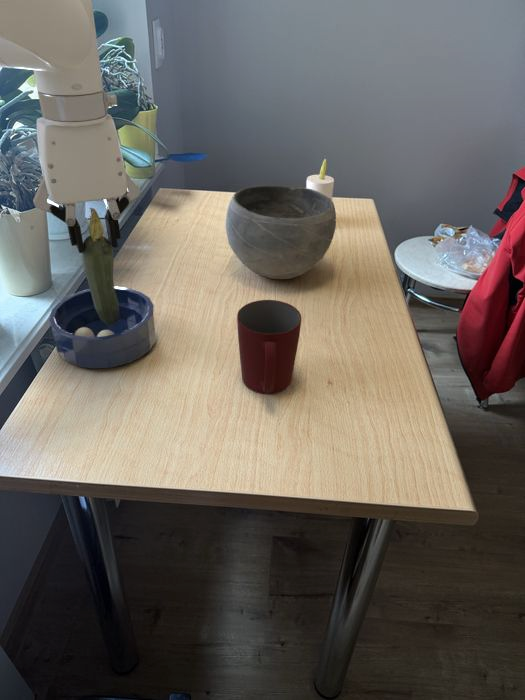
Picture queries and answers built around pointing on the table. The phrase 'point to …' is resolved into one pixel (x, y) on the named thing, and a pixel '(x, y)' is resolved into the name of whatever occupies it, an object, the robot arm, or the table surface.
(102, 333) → the dumpling
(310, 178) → the candle
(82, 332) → the beige small ball
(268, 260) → the bowl
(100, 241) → the vegetable
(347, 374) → the table surface
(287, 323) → the mug
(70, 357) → the mixing bowl
